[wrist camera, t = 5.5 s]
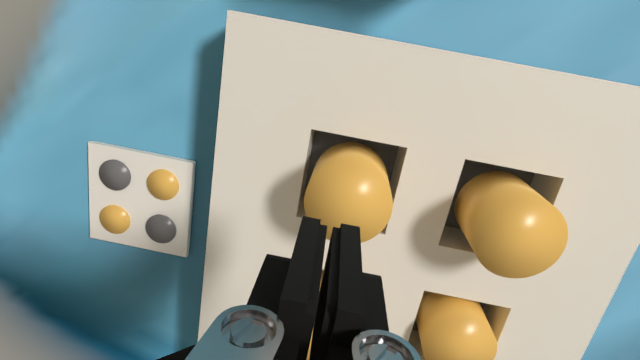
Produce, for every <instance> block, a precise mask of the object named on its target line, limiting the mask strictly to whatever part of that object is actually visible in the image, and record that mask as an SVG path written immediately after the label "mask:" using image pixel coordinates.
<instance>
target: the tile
mask: <svg viewBox="0 0 640 360" xmlns="http://www.w3.org/2000/svg"><path fill="white" fill-rule="evenodd" d="M88 165H89V213H90V238H95V239H100V240H105V241H110V242H114V243H119V244H124V245H129V246H134V247H138V248H143V249H148V250H153V251H158V252H162V253H167V254H172V255H177V256H182V257H187V256H188V255H189V247H190V234H191V220H192V207H193V193H194V180H195V167H196V161H192V160H187V159H182V158H177V157H172V156H167V155H162V154H157V153H152V152H147V151H142V150H137V149H132V148H127V147H122V146H117V145H112V144H107V143H102V142H97V141H90V142H88Z"/></svg>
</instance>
